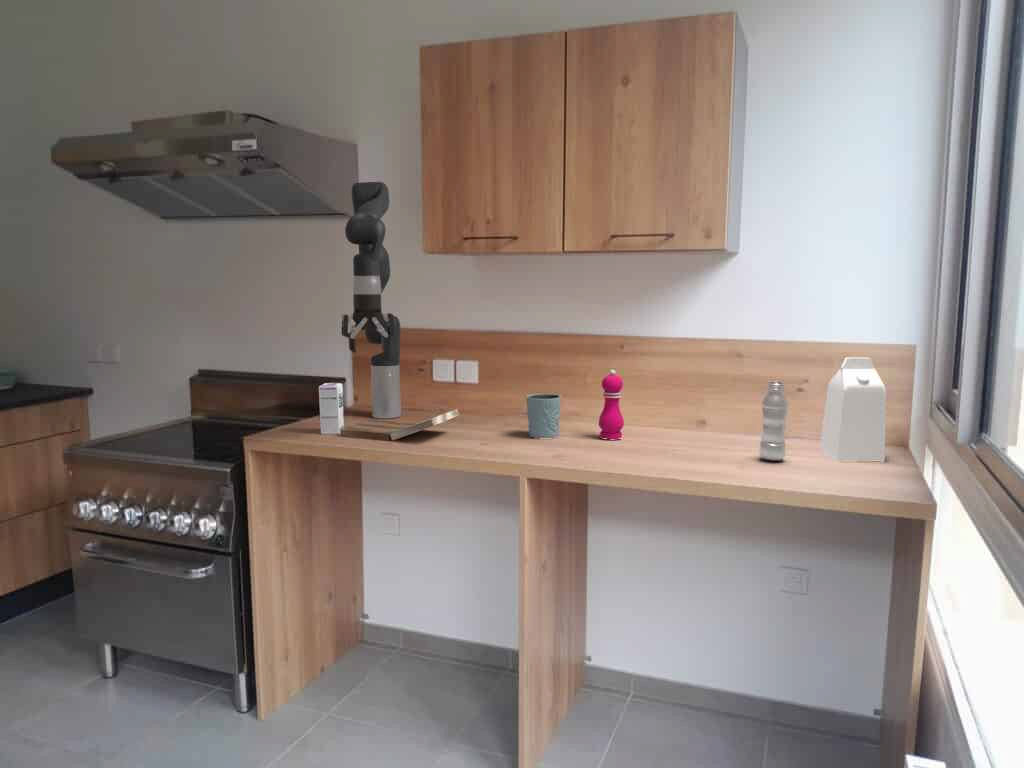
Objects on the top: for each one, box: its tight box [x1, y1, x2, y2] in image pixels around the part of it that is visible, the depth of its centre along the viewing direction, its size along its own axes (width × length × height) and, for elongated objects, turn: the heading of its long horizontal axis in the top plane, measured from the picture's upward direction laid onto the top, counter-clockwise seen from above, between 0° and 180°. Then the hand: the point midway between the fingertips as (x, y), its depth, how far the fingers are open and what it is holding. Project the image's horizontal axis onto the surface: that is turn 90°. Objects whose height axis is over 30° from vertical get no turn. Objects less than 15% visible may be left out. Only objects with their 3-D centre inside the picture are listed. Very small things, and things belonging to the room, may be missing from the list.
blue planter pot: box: [525, 392, 562, 439], centre depth 219 cm, size 10×10×12 cm
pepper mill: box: [598, 369, 625, 439], centre depth 216 cm, size 7×7×20 cm
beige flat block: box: [390, 408, 460, 441], centre depth 218 cm, size 17×14×2 cm
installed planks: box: [340, 418, 417, 442], centre depth 223 cm, size 17×16×2 cm
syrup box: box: [318, 382, 345, 435], centre depth 223 cm, size 6×6×14 cm
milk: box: [819, 357, 887, 461], centre depth 195 cm, size 12×12×26 cm
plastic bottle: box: [758, 381, 790, 462], centre depth 191 cm, size 6×7×20 cm
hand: (368, 351), depth 209 cm, fingers open, 8 cm apart
